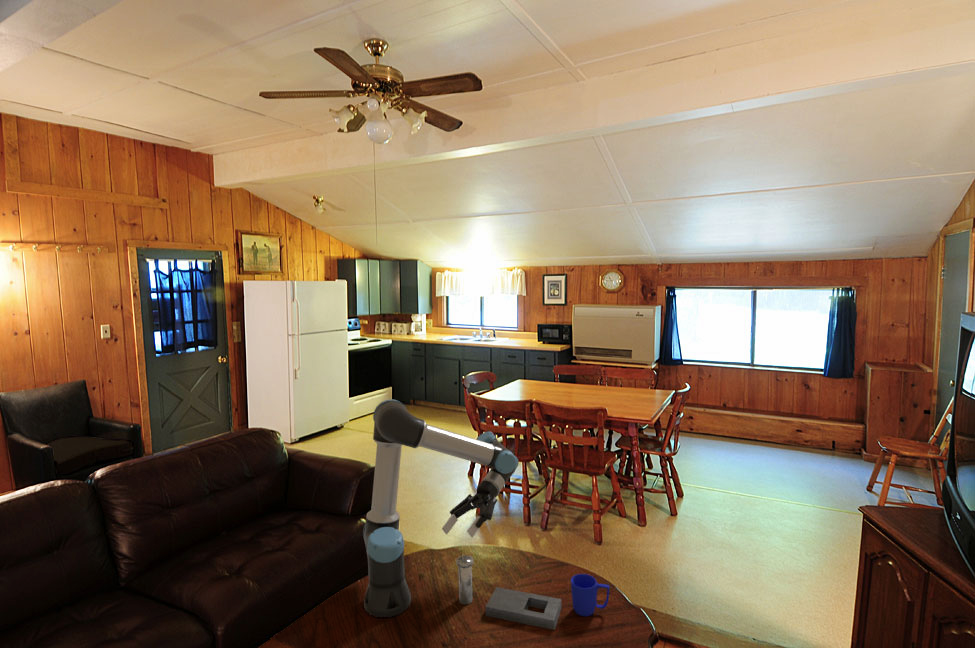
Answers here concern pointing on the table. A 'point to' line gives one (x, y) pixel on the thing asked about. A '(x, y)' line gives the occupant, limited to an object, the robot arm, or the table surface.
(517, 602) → the jig
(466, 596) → the silver metal peg
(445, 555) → the table surface
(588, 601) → the mug
